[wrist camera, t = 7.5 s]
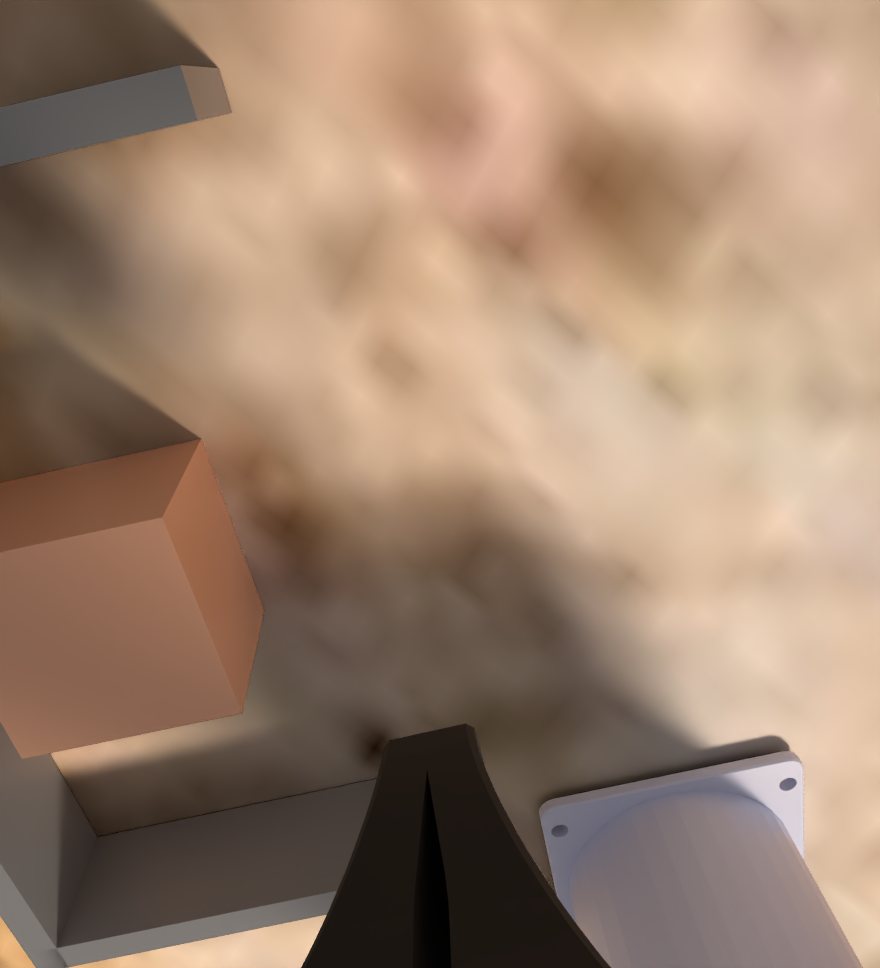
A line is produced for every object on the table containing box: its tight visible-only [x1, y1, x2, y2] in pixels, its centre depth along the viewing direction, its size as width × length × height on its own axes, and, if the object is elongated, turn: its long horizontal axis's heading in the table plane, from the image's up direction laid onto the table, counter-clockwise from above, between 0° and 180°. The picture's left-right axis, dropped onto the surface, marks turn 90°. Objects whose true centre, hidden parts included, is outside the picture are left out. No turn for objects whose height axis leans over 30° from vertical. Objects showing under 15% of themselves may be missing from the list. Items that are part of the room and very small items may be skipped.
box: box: [0, 65, 377, 968], centre depth 19 cm, size 20×11×4 cm, turn 12°
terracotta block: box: [0, 439, 264, 759], centre depth 19 cm, size 5×5×4 cm
